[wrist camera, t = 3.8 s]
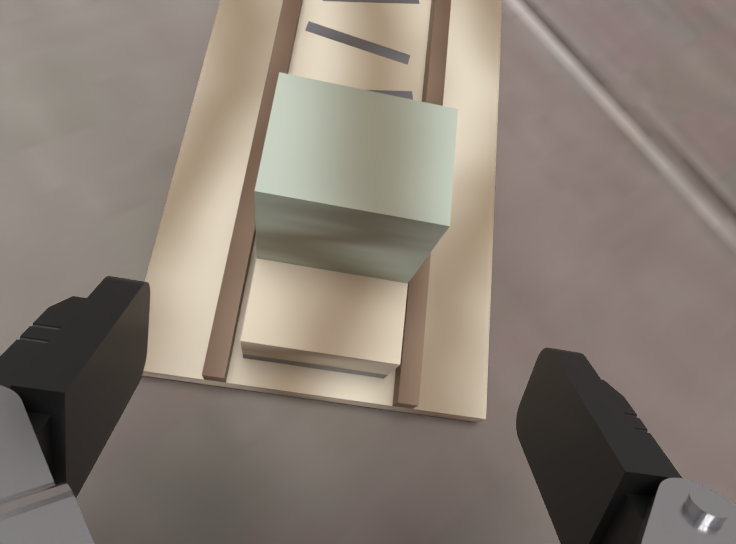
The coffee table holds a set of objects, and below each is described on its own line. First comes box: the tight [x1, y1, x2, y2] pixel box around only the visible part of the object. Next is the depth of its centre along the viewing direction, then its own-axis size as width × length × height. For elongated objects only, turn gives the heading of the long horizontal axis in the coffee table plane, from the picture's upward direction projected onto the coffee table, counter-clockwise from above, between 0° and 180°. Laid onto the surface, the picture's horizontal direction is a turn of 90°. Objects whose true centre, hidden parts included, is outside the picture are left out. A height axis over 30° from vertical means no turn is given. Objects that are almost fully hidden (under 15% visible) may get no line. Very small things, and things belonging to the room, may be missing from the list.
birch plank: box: [142, 0, 502, 422], centre depth 27 cm, size 14×25×2 cm, turn 174°
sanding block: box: [240, 72, 458, 378], centre depth 20 cm, size 6×10×8 cm, turn 174°
